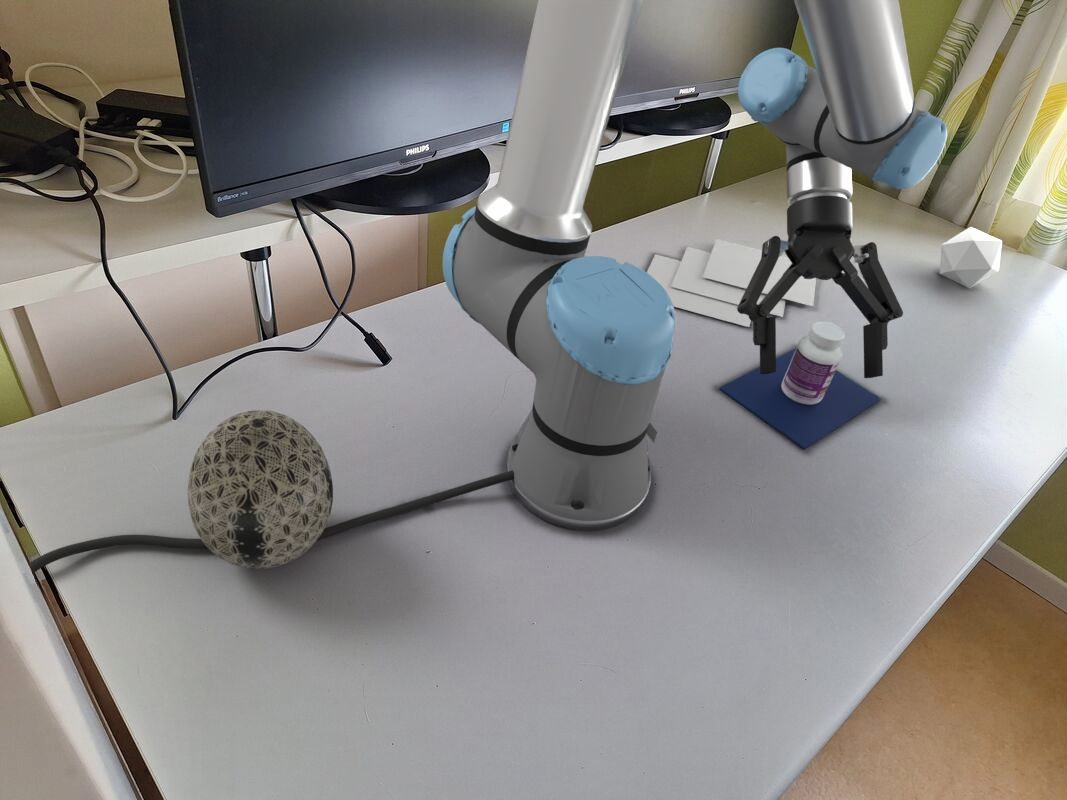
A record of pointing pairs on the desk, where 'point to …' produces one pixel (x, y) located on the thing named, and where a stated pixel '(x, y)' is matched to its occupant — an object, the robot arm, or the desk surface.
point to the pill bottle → (814, 363)
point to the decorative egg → (260, 490)
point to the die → (970, 257)
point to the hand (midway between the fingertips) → (821, 375)
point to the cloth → (794, 417)
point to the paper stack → (723, 281)
